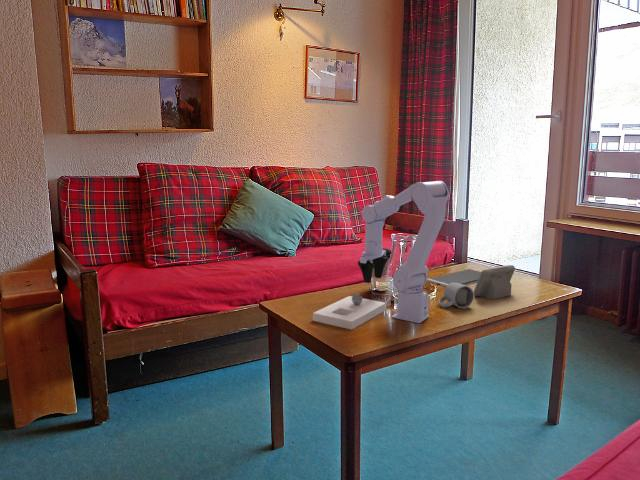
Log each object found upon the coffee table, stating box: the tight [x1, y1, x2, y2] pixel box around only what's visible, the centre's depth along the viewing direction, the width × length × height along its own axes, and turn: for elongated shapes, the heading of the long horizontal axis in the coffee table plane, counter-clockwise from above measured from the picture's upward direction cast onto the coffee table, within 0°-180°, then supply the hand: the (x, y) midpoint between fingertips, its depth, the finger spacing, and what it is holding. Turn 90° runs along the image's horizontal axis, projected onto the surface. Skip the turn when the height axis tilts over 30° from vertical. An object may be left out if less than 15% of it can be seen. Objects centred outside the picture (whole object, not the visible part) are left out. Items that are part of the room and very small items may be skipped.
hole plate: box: [312, 295, 387, 330], centre depth 172 cm, size 14×22×2 cm, turn 146°
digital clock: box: [473, 264, 516, 300], centre depth 194 cm, size 16×9×11 cm, turn 109°
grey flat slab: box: [426, 268, 481, 288], centre depth 216 cm, size 13×27×2 cm, turn 126°
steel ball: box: [352, 293, 364, 305], centre depth 175 cm, size 4×4×4 cm
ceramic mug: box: [437, 283, 475, 309], centre depth 183 cm, size 11×8×8 cm
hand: (372, 280), depth 183 cm, fingers open, 7 cm apart
